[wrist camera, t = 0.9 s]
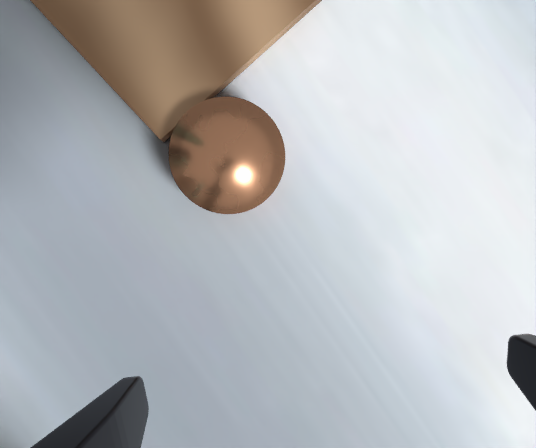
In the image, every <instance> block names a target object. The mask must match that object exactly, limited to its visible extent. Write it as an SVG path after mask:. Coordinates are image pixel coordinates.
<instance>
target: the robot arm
mask: <svg viewBox="0 0 536 448" xmlns="http://www.w3.org/2000/svg"><path fill="white" fill-rule="evenodd" d="M507 369H508V372H509V374H510V376H511V377H512V379H513V380H514V381H515V383H516V384H517V386H518V387H519V388H520V390H521V391H522V393H523V394H524V395H525V397H526V398H527V399H528V401H529V402H530V404H531V405H532V406H533V408H534V409H535V410H536V336H535V335H532V334H520V335H513V336H511V337H510V338H509V341H508V355H507ZM147 418H148V401H147V397H146V392H145V387H144V382H143V380H142V378H141V377H139V376H136V377H127V378H123V379H121V380H120V381H119V382H117V383H116V384H115V385H113V386H112V387H111V388H109V389H108V390H107V391H105V392H104V393H103V394H101V395H100V396H99V397H97V398H96V399H95V400H93V401H92V402H91V403H89V404H88V405H87V406H85V407H84V408H83V409H81V410H80V411H79V412H77V413H76V414H75V415H73V416H72V417H71V418H69V419H68V420H67V421H65V422H64V423H63V424H62V425H60V426H59V427H58V428H56V429H55V430H54V431H52V432H51V433H50V434H48V435H47V436H46V437H44V438H43V439H42V440H40V441H39V442H38V443H36V444H35V445H34V446H32V447H31V448H141V444H142V439H143V435H144V431H145V426H146V422H147Z"/></svg>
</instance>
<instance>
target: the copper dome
mask: <svg viewBox="0 0 536 448" xmlns="http://www.w3.org/2000/svg"><path fill="white" fill-rule="evenodd" d="M169 164H170V169H171V172H172V175H173V177H174V180H175V182H176V184H177V185H178V187H179V188H180V190H181V191H182V192H183V193H184V195H185V196H186V197H188V198H189V199H190V200H191V201H192V202H194V203H195V204H196V205H198V206H200V207H202V208H204V209H206V210H209V211H211V212H216V213H221V214H236V213H241V212H245V211H248V210H250V209H253V208H255V207H257V206H258V205H260V204H261V203H263V202H264V201H265V200H266V199H267V198H268V197H269V196H270V195H271V194H272V193H273V192H274V190H275V189H276V187H277V186H278V184H279V182H280V180H281V177H282V174H283V170H284V165H285V148H284V143H283V139H282V136H281V134H280V131H279V129H278V128H277V126H276V124H275V123H274V121H273V120H272V119H271V117H270V116H269V115H268V114H267V113H266V112H265V111H263V110H262V109H261V108H260V107H258V106H256V105H255V104H253V103H251V102H249V101H247V100H244V99H240V98H236V97H215V98H211V99H207V100H205V101H202V102H200V103H198V104H196V105H195V106H193V107H192V108H191V109H189V110H188V111H187V112H186V113H185V114H184V115H183V116H182V117H181V119H180V120H179V121H178V123H177V124H176V126H175V128H174V130H173V133H172V135H171V139H170V143H169Z"/></svg>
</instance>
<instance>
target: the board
mask: <svg viewBox="0 0 536 448" xmlns="http://www.w3.org/2000/svg"><path fill="white" fill-rule="evenodd" d="M30 1H31V2H32V3H33V4H34V5H35V6H36V7H37V8H38V9H39V10H40V11H41V12H42V13H43V15H44V16H45V17H46V18H47V19H48V20H49V21H50V22H51V23H52V24H53V25H54V26H55V27H56V28H57V30H58V31H59V32H60V33H61V34H62V35H63V36H64V37H65V38H66V39H67V40H68V41H69V42H70V43H71V45H72V46H73V47H74V48H75V49H76V50H77V51H78V52H79V53H80V54H81V55H82V56H83V57H84V58H85V60H86V61H87V62H88V63H89V64H90V65H91V66H92V67H93V68H94V69H95V70H96V71H97V72H98V73H99V75H100V76H101V77H102V78H103V79H104V80H105V81H106V82H107V83H108V84H109V85H110V86H111V87H112V88H113V90H114V91H115V92H116V93H117V94H118V95H119V96H120V97H121V98H122V99H123V100H124V101H125V102H126V103H127V105H128V106H129V107H130V108H131V109H132V110H133V111H134V112H135V113H136V114H137V115H138V116H139V117H140V119H141V120H142V121H143V122H144V123H145V124H146V125H147V126H148V127H149V128H150V129H151V130H152V131H153V132H154V134H155V135H156V136H157V137H158V138H159V139H160V140H161V141H162V142H165V141H166V140H167V139H168V138H169V137H170V136H171V135H172V133H173V130H174V128H175V126H176V124H177V123H178V121H179V120H180V119H181V117H182V116H183V115H184V114H185V113H186V112H187V111H188V110H189V109H191V108H192V107H193V106H195V105H196V104H198V103H200V102H202V101H205V100H207V99H211V98H214V97H215V96H216V95H217V94H218V93H219V92H220V91H222V90H223V89H224V88H225V87H226V86H227V85H228V84H229V83H230V82H232V81H233V80H234V79H235V78H236V77H237V76H238V75H239V74H240V73H242V72H243V71H244V70H245V69H246V68H247V67H248V66H249V65H250V64H252V63H253V62H254V61H255V60H256V59H257V58H258V57H259V56H260V55H262V54H263V53H264V52H265V51H266V50H267V49H268V48H269V47H270V46H272V45H273V44H274V43H275V42H276V41H277V40H278V39H279V38H280V37H282V36H283V35H284V34H285V33H286V32H287V31H288V30H289V29H290V28H292V27H293V26H294V25H295V24H296V23H297V22H298V21H299V20H300V19H302V18H303V17H304V16H305V15H306V14H307V13H308V12H309V11H310V10H312V9H313V8H314V7H315V6H316V5H317V4H318V3H319V2H320V1H322V0H30Z"/></svg>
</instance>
